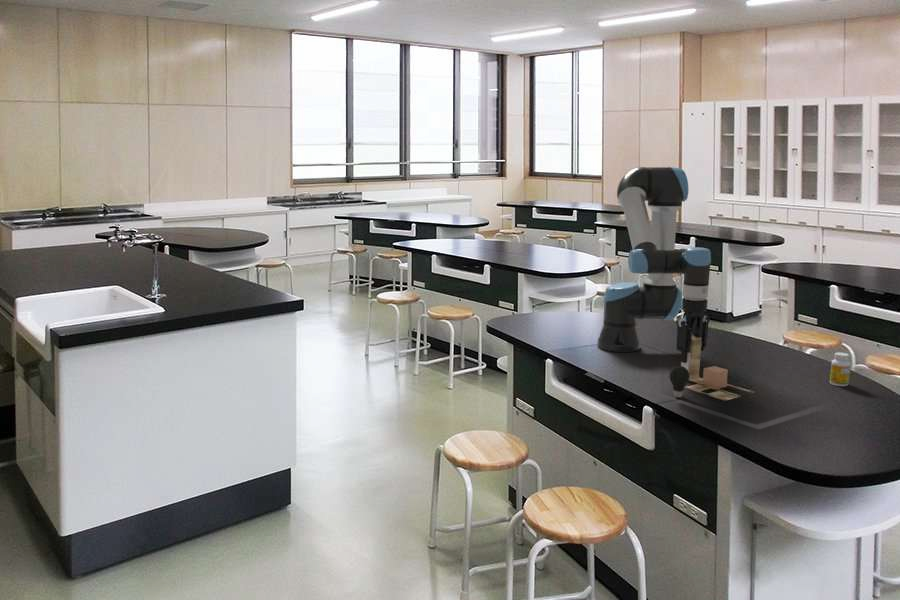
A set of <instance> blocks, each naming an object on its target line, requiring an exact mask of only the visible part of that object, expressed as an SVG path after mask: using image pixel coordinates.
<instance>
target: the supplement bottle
mask: <svg viewBox="0 0 900 600" xmlns="http://www.w3.org/2000/svg"><path fill="white" fill-rule="evenodd" d="M849 359H850V353H846V352H835V353H834V359H832V360H831V365H830V374H829V384H830V385H833V386H837V387H846V386H848V385H849V381H850V373H851V361H849Z"/></svg>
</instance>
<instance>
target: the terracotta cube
mask: <svg viewBox="0 0 900 600" xmlns="http://www.w3.org/2000/svg"><path fill="white" fill-rule="evenodd" d="M728 372H729V371H728V369H726V368H723V367H719V366H715V365H713V366H709V367H704V368H703V372H702V373H703V374H702V375H703V377H702V379H703V384H704V385H707V386H711V387H714V388H719V389H721V388H720V387H723V388H725V387H724V386H727V384H728ZM727 387H728V386H727Z"/></svg>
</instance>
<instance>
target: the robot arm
mask: <svg viewBox="0 0 900 600" xmlns="http://www.w3.org/2000/svg"><path fill="white" fill-rule="evenodd" d="M688 195H689V180H688V177H687V174H686V172H685V171H684V169H682V168H680V167H671V166H668V167H667V166H665V167H664V166H663V167H661V166H660V167H659V166H658V167H657V166H655V167H651V166H648V167H645V166H639V167H635V168H633V169H631V170H629V171H628V172H627V173H625V175H623V177H622V178H621V180H620V181H619V183H618V186H617V190H616V198H617V202H618V204H619V205H620V207H621V208H622V209H623V215H624V218H625V223H626V227H627V231H628V235H629V239H630V243H631V248H632V249H631V250H630V251H629V253H628V256H627V263H628V264H627V265H628V270H629V272H630V273H632V274H640V275H644V274H646V275H648V276H647V278H646V279H645V280H643V283H642V284H643V286H640V285H639V284H638V283H637V282H627V281H626V282H617V283H612V284H609V285H608V286H607V287H606V288H605V291H604V297H603V300H604V306H603V307H604V308H603V322H602V323H603V325H602V328H601V331H600V333H599V337H598V338H597V347H598V348H599V349H601V350H604V351H607V352H613V353H614V352H616V353H631V352H637V351H640V349H641V341H640V340H639V333H638V330H637V321H638V320H661V321H664V320H673V319H675V318H676V317H677V316H678V314H679V312H680V309H681V310H682V311H683V315H682V318H681V319H677V320H676V323H675V324H676V326H677V329H676V330H677V331H676V351H678V352H680V366H683V367H685V368H686V369H687V370H688V372H689V369H690V354H691V353H689V348H690V343H691V338H692V336H696V337H701V338H702V340H701V352H703V351H705V349H706V348H707V342H708V333H709V331H708V330H709V324H710V320H711V317H710V316H708V315H706V314H705V313H706V311H707V310H708V302H709V301H708V299H707V298H708V297H709V283H710V272H711V263H712V256H711V255H712V252H711V250H710V249H709V248H705V247H697V246H696V247H695V246H694V247H693V246H691V247H688V248H680V249H675V247H676V232H677V230H676V228H677V212H678V211H679V210H680V209H681V208H682V207H683V206H682V202H686V201H687V199H688V197H689V196H688ZM646 202H647V205H646ZM647 207H648V208H649V209H650V210H651V219H650V217H649V213H648V209H647ZM676 274H677V275H683V282H682V283H683V284H682V285H683V286H682V290H681V288H680V287H678V286H677V285H678V283H677V282H676V280H675V279H674V275H676ZM685 348H686V349H685ZM701 354H702V353H701ZM701 354H700V359H701V358H702V357H701V356H702V355H701Z"/></svg>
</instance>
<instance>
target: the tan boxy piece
mask: <svg viewBox="0 0 900 600" xmlns="http://www.w3.org/2000/svg"><path fill="white" fill-rule="evenodd" d="M701 340H702V338H701V337H696V336H693V335H692V338H691V343H690V348H689V353H691V354H690V369H689V376H690V377H689V380H688V381H691V382H692V383H693V382H694V383H696V384H697V383H701V384H703V377H702V378H701V377H700V366H701V358H700V354H702V350H701ZM685 349H686V348H685ZM727 387H728V386H724V387H720V388H717V389H722V388H727Z"/></svg>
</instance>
